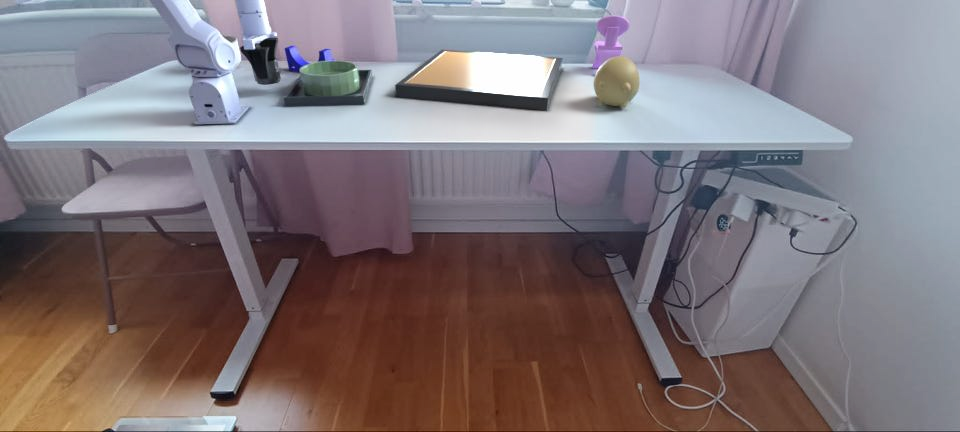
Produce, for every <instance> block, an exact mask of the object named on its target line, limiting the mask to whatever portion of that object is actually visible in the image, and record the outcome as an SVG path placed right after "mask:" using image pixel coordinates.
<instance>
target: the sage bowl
mask: <svg viewBox="0 0 960 432" xmlns="http://www.w3.org/2000/svg"><path fill="white" fill-rule="evenodd" d="M309 63H310V64H307V65H304V66H302V67H301V68H300V69H299V71H300V72H299V77H300V76H301V81H302V86H303V91H304V93H306V94H308V95H311V96H342V95H347V94H351V93H353V92H356V91H357V90H359V89H360V79H359V71H358V70H359V66H358V65H357V64H356V63H355V62H352V61H347V60H338V59H337V60H336V59H335V61H320V62H318V61H315V62H309Z"/></svg>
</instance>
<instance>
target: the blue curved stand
mask: <svg viewBox="0 0 960 432" xmlns="http://www.w3.org/2000/svg"><path fill="white" fill-rule="evenodd" d="M284 53H285V57H286V61H287V62H286V63H287V66H288V71H289V72H294V73H295V72H296V73H300V71H299V69H300V68H301V67H302V66H304V65H307V64H310V63H311V62H308V61H306V60H305V59H304V58H303V57H302V56H301V54H300V53H299V50H298V47H297V46H296V45H289V46H287V47H284ZM335 60H336V59H335V58H332V51H331V48H324V49H321V50H318V60H317V62H320V61H335Z"/></svg>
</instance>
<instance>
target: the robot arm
mask: <svg viewBox="0 0 960 432" xmlns="http://www.w3.org/2000/svg"><path fill="white" fill-rule="evenodd" d="M149 2H150V3H151V5H152V6H153V7H154V9H155V10H156V11H157V13H158V14H159V15H160V17H161V18H162V20H163V21H164V23H165V24H166V25H167V27H168V28H169V29H170V33H169V34H168V37H167V42H168V43H169V45H170V46H171V48H172V50H173V51H172V52H173V54H174V57H175V59H176V61H177V62H178V64H179V65H180V66H181V67H183V68H185V69H186V71H187V74H190V75H191V80H192V82H191V86H189V89H188V95H189V99H190V101H191V104H192V108H193V111H194V113H195V117H196V119H195V120H194V121H193V125H219V124H220V125H222V124H223V125H225V124H236V123H237V122H238V121H239V120H240V119H241V117H242V116H243V115H244V114H245V113H246V112H247V111H248V110H249V108H250V106H249V105H241V101H240V96H239V94H238V89H237V86H236V83H235V79H234V76H233V72H234V71H235V70H234V69H233V68H234V67H235V64H236V52H235V49H234V47H233V45H232V44H231V43H230V42H229V41H227V40H226V39H224V38H223V37H222V35H223V34H221V32H220V31H219V30H218V29H217V28H215V27H214V26H213V25H211V24H209V23H208V22H206V21H204V20H203V19H202V18H201V17H200V15H199V14H198V12H197V11H196V9H195V7H194V6H193V4H192V3H191V2H190V0H149ZM234 2H235V3H234V4H235V7H236V8H235V9H236V11H237V15H238V19H239V24H240V27H241V31H242V33H241V34H242V35H241V36H242V39H241V42H242V45H241V46H239V50H240V53H242V55H243V56H244V57H245V58H246V60H247V61H248V62H249V64H250V65H251V69H252V68H253V69H254V71H255V73H256V75H257V77H258V79H268V76H269V72H268V63H267V58H268V57H274V58H276V57H277V56H276V54H277V47H278V43H279V38H278V37H277V36H278V33H277V32H276V31H272V27H271V26H270V22H269V21H270V20H269V17H268V13H267V8H266V4H265V3H266V2H265V0H234Z"/></svg>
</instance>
